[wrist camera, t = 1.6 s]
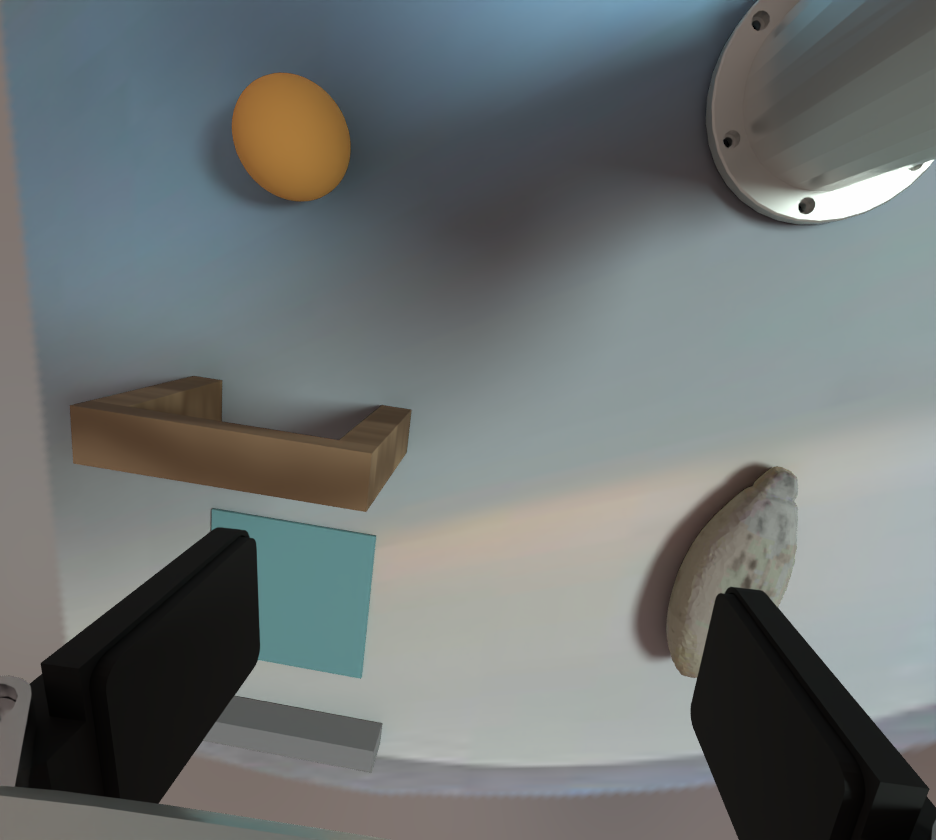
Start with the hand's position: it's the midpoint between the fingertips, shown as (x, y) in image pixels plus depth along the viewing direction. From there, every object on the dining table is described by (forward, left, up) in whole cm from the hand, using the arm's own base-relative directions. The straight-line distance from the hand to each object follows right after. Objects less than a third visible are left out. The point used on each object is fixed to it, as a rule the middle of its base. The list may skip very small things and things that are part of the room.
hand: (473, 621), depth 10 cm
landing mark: (+17, -13, -23) cm, 31 cm away
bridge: (+3, -13, -23) cm, 27 cm away
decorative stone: (+9, +17, -23) cm, 30 cm away
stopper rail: (+28, -13, -23) cm, 38 cm away
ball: (-13, -13, -20) cm, 27 cm away
